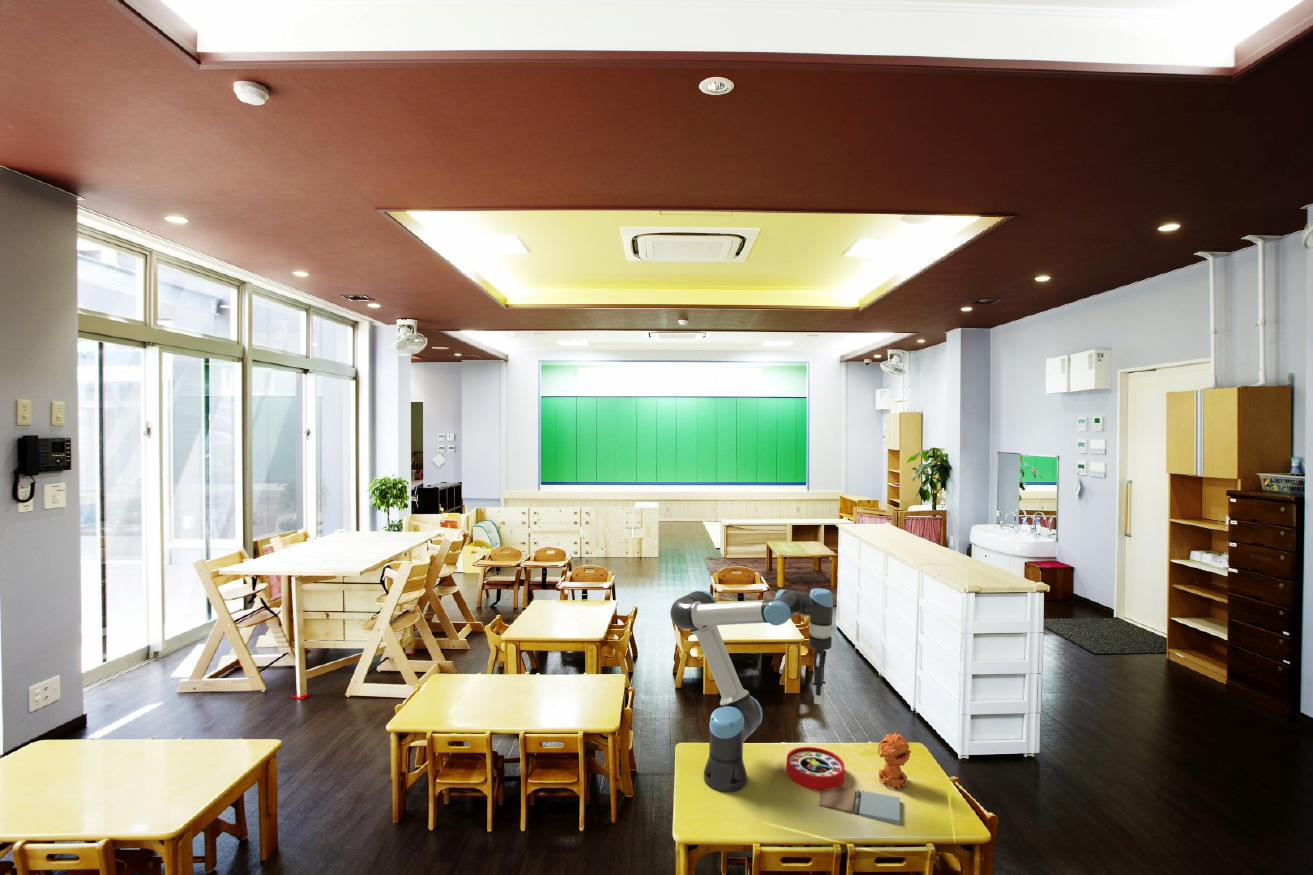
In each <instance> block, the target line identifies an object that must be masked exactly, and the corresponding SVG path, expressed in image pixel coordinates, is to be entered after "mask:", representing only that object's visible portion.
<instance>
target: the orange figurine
mask: <svg viewBox="0 0 1313 875" xmlns="http://www.w3.org/2000/svg"><path fill="white" fill-rule="evenodd" d="M901 735H902V733H901V734H900V733H898V734H897V731H895V732H894V733H891V732H890V733H889V734H888V733H887V734H886V735H885V736H884V737H883V738H882V739H881V740H880V742H879V744H878V746H877V747H878V749H877V753H878V755H879V758H883V760H884V761H885V763H884V766H883V769H879V770H878V778H879V783H880V782H882V783H884V784H886V785H887V786H889V787H892V788H893V789H895V788H897V789H898V790H901V787H906V788H907V784H908V780H907V779H908V776H907V774H905V772H904V771H902V769H901V766H902V767H903V766H905V764H906V763H907V762H908V761H909V760H910V756H911V753H912V750H910V745H909V743H908V740H907V739H906V738H904V737H903V736H901ZM880 752H881V753H880Z"/></svg>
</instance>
